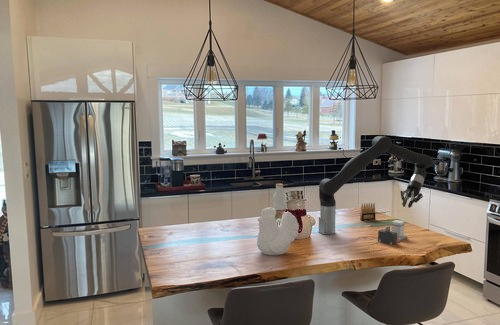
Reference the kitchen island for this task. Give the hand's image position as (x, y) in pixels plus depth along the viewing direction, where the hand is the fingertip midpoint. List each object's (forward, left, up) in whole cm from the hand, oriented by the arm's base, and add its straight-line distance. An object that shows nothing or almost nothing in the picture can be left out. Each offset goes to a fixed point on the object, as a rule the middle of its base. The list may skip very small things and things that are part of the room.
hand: (406, 206), depth 234 cm
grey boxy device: (-15, -5, -18) cm, 24 cm away
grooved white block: (-9, -3, -16) cm, 19 cm away
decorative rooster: (-81, +7, -18) cm, 83 cm away
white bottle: (-57, +51, -18) cm, 79 cm away
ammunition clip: (+5, +38, -18) cm, 43 cm away
